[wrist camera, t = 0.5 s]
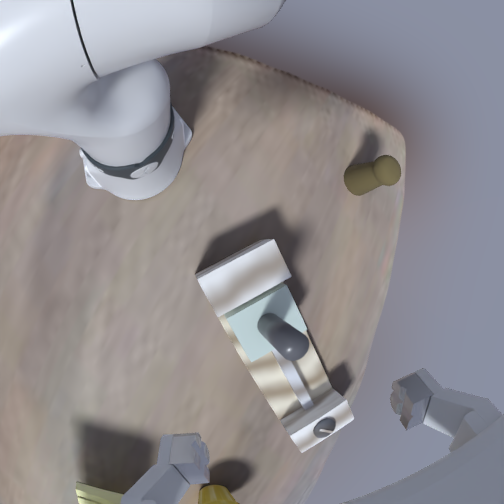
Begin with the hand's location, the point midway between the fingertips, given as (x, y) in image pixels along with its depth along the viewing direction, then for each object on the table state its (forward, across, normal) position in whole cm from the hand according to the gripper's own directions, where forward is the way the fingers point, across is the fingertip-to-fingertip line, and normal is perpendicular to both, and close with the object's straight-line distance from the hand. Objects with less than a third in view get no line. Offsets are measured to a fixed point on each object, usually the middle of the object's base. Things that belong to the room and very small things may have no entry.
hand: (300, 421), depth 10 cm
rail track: (+34, -1, +22) cm, 40 cm away
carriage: (+33, 0, +14) cm, 36 cm away
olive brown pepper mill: (+44, -24, -3) cm, 50 cm away
